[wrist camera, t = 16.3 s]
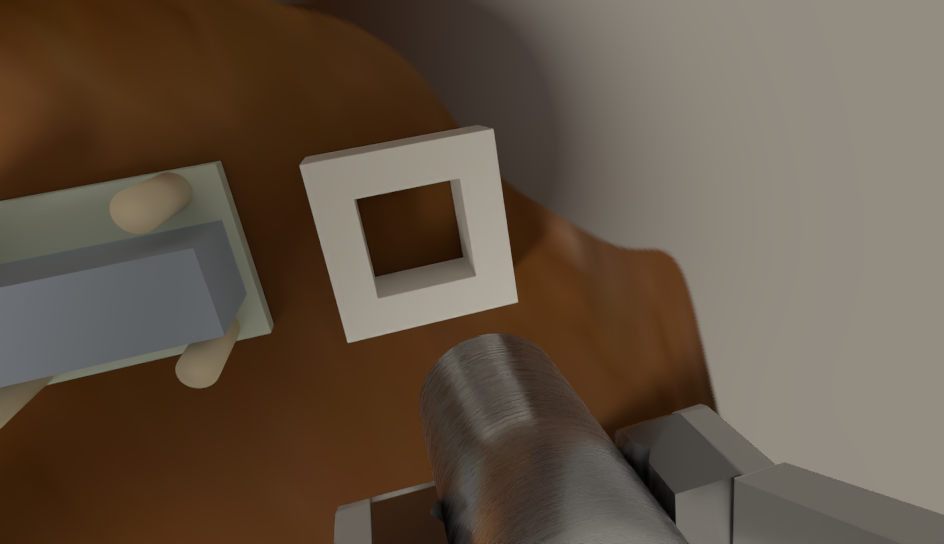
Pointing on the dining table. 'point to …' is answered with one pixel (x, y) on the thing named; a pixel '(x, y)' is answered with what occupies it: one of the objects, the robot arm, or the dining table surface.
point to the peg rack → (127, 216)
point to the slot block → (428, 287)
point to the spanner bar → (116, 301)
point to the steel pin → (527, 454)
